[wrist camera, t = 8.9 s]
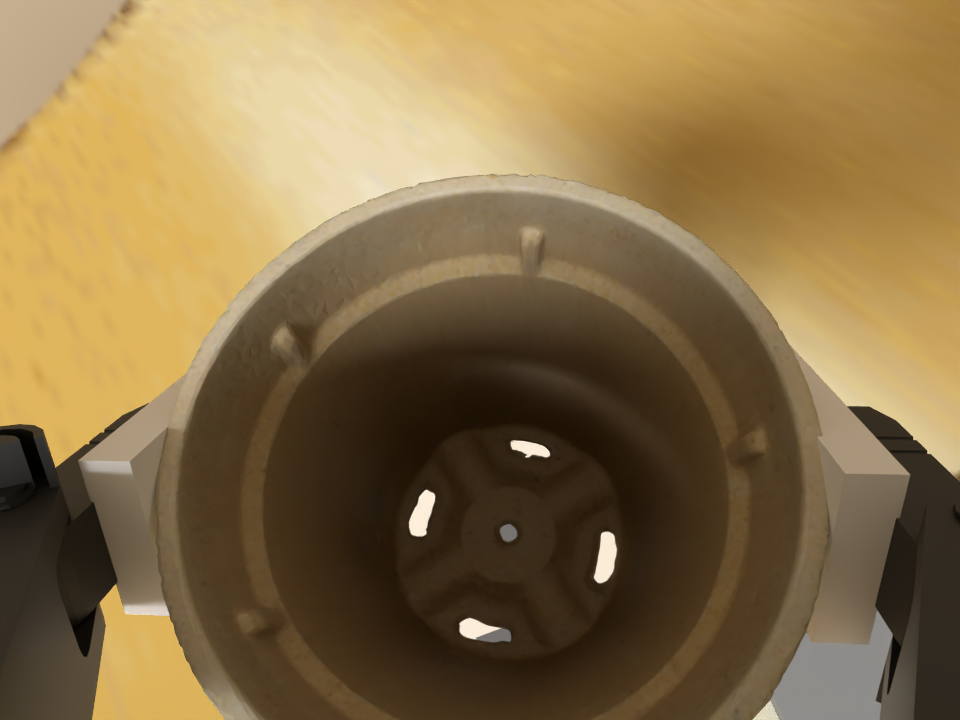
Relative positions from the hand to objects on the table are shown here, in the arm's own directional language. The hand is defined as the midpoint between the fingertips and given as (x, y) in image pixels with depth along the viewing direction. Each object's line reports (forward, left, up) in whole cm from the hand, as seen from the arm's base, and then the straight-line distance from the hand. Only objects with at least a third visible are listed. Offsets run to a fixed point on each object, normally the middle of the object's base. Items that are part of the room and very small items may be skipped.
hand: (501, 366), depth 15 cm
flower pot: (+1, +3, -4) cm, 5 cm away
